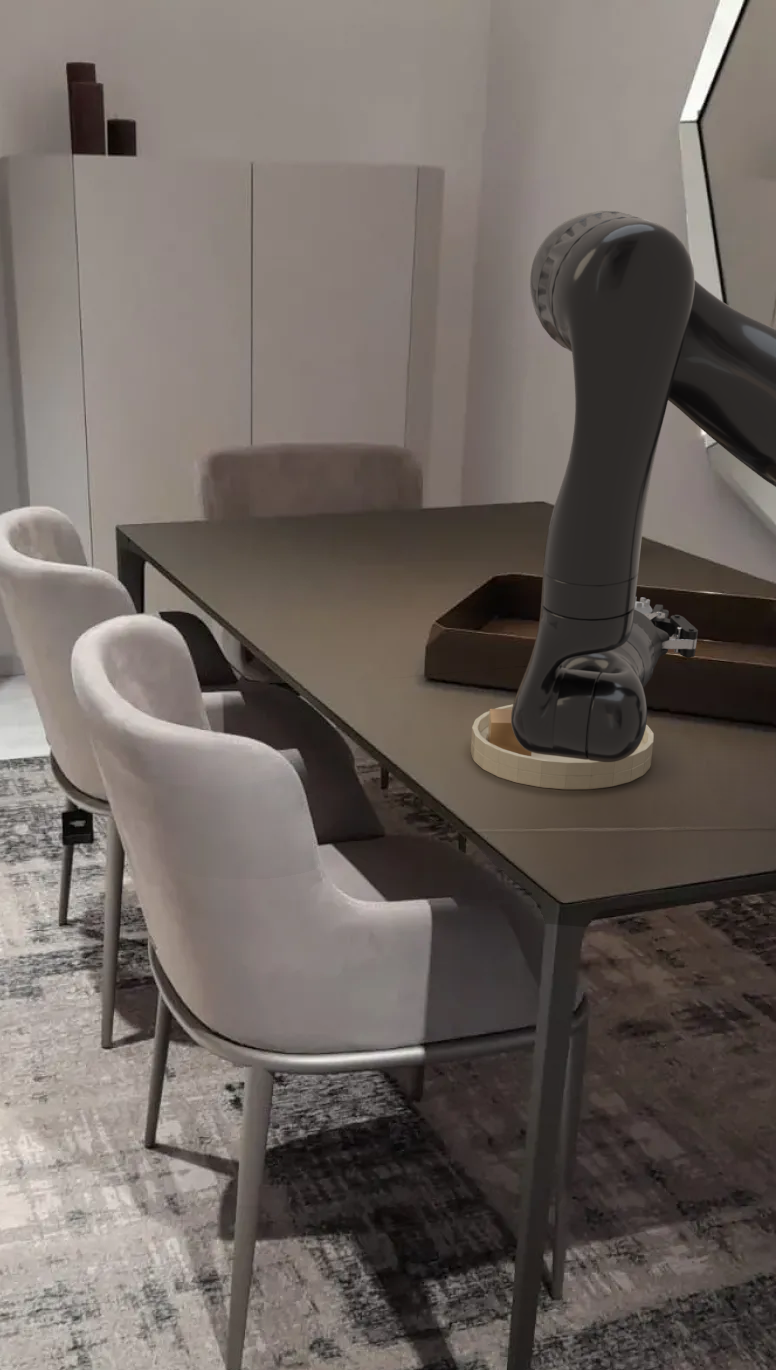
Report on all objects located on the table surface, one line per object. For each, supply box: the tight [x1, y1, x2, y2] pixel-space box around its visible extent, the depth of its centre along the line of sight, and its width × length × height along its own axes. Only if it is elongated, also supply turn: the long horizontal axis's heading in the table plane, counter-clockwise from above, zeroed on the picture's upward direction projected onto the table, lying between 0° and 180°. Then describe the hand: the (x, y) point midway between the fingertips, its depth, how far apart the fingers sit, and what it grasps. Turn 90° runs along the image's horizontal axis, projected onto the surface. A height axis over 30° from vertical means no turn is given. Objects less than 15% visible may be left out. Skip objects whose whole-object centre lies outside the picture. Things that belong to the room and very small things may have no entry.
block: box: [488, 708, 532, 756], centre depth 149 cm, size 4×4×4 cm
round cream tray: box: [470, 703, 655, 790], centre depth 149 cm, size 19×19×4 cm
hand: (638, 613), depth 137 cm, fingers closed on rook chess piece, 3 cm apart
